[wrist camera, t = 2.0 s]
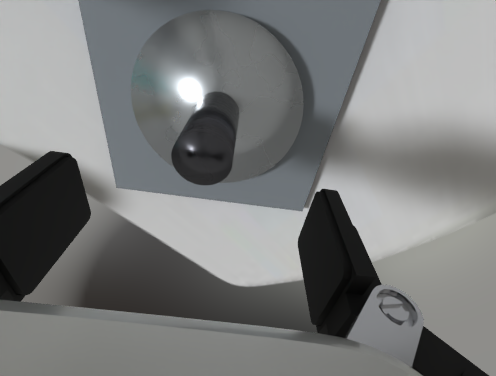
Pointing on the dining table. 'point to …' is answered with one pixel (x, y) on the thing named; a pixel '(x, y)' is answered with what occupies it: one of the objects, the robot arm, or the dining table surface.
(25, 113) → the dining table surface
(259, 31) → the lid
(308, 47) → the mat
